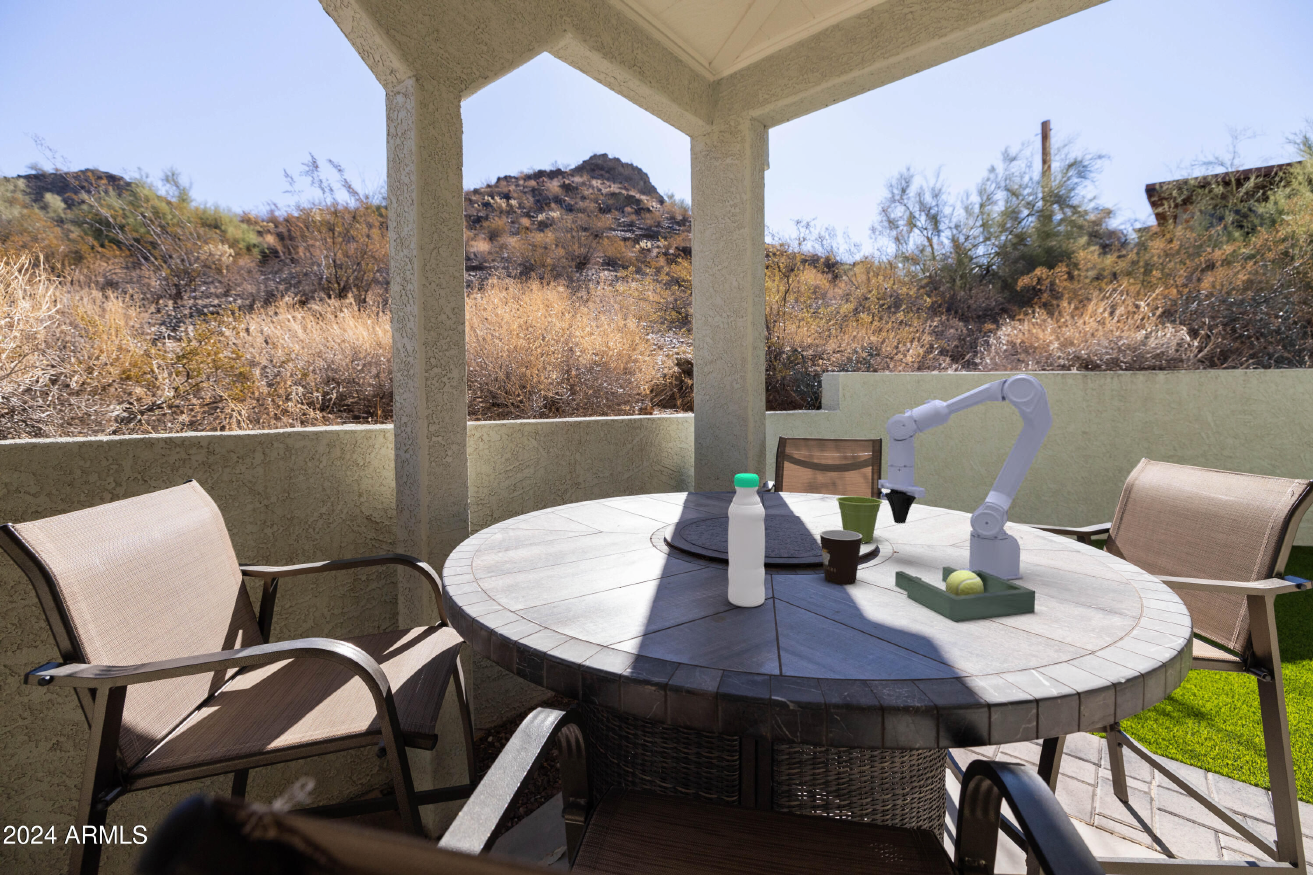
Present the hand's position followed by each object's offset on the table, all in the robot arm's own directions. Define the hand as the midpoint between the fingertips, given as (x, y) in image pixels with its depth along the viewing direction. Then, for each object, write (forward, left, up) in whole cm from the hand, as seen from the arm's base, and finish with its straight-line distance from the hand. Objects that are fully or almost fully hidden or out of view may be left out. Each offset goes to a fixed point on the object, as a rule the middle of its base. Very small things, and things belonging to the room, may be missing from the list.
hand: (899, 522), depth 138 cm
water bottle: (+45, +15, -10) cm, 48 cm away
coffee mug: (+20, +7, -10) cm, 23 cm away
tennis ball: (+5, +26, -10) cm, 29 cm away
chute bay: (+5, +24, -9) cm, 26 cm away
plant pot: (-2, -20, -10) cm, 22 cm away
